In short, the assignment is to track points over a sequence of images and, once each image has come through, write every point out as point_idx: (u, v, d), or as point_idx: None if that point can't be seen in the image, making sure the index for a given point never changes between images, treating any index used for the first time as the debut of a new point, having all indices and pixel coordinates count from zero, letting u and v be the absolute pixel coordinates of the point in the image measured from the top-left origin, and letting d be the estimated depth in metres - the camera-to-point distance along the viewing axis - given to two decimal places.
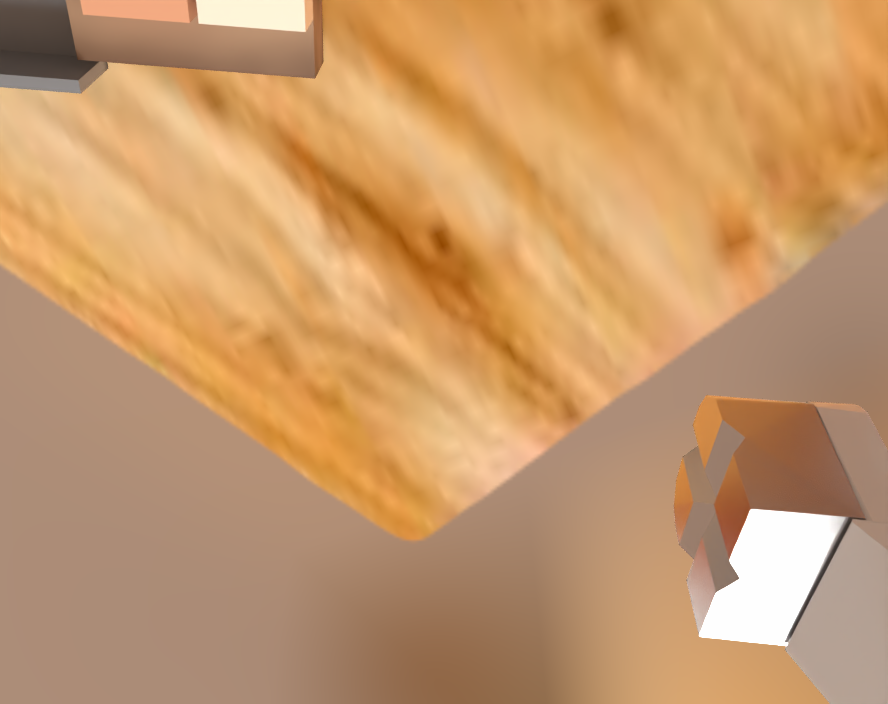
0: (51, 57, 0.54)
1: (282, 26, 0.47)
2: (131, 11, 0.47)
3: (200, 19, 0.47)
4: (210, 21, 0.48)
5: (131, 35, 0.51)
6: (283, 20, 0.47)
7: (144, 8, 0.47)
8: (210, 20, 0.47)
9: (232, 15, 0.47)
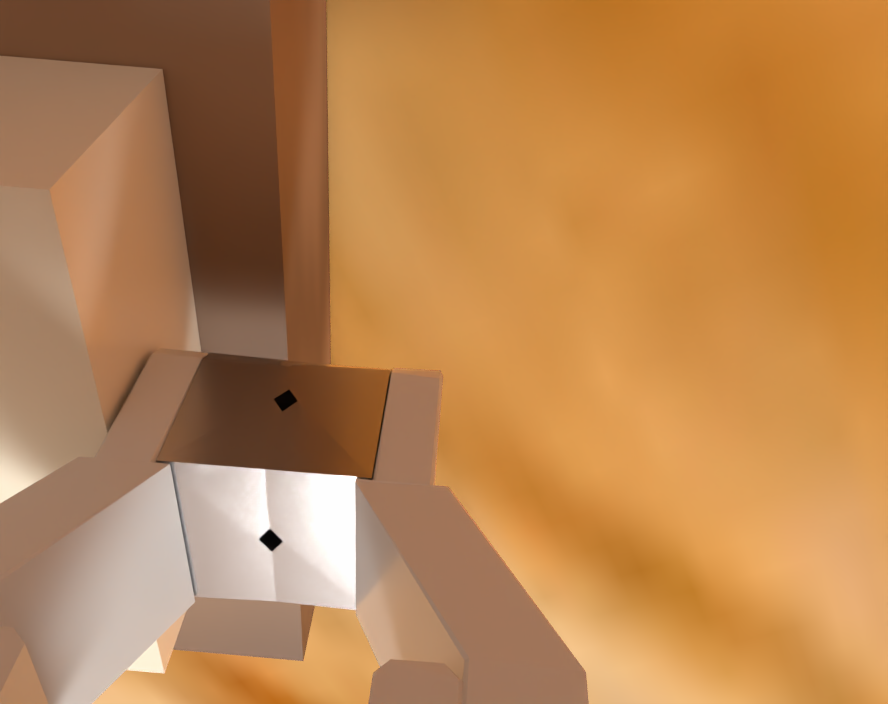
0: None
1: None
2: None
3: None
4: None
5: None
6: None
7: None
8: None
9: None
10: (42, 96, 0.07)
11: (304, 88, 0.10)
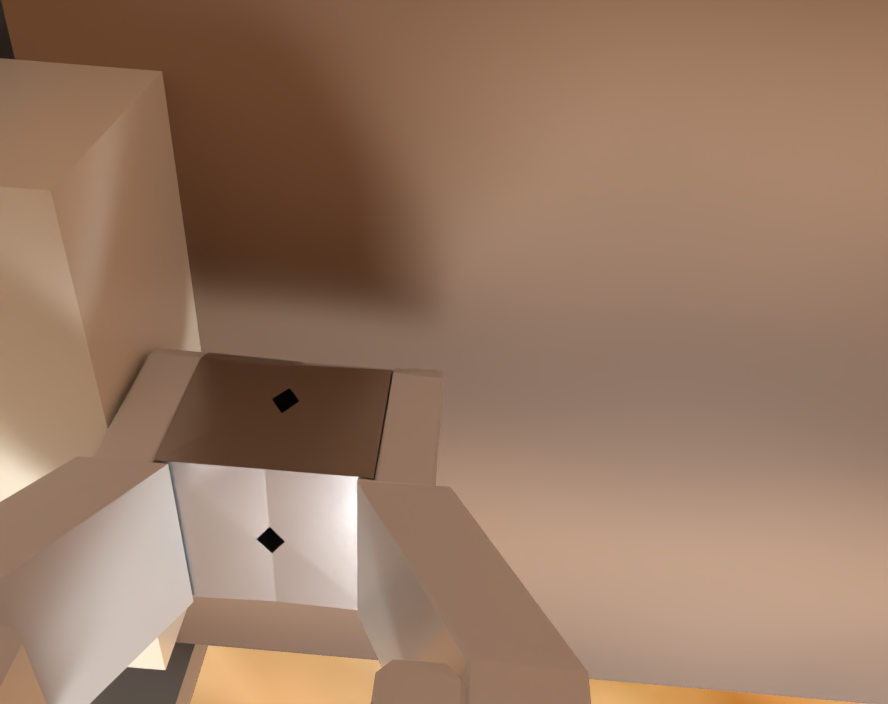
0: None
1: None
2: None
3: None
4: None
5: None
6: None
7: None
8: None
9: None
10: (43, 98, 0.07)
11: None
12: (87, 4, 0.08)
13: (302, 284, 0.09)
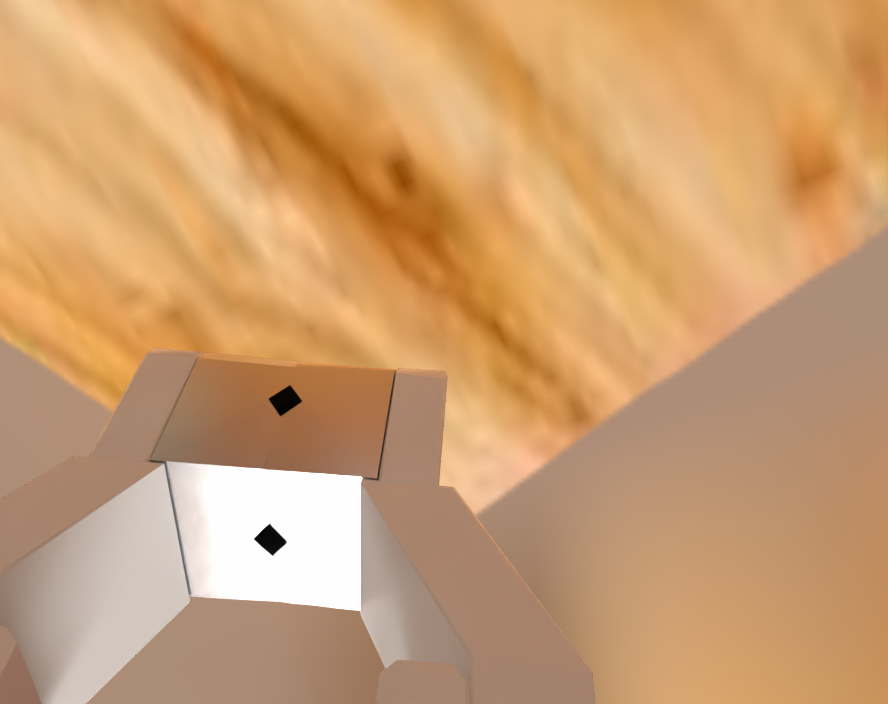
0: None
1: None
2: None
3: None
4: None
5: None
6: None
7: None
8: None
9: None
10: None
11: None
12: None
13: None
